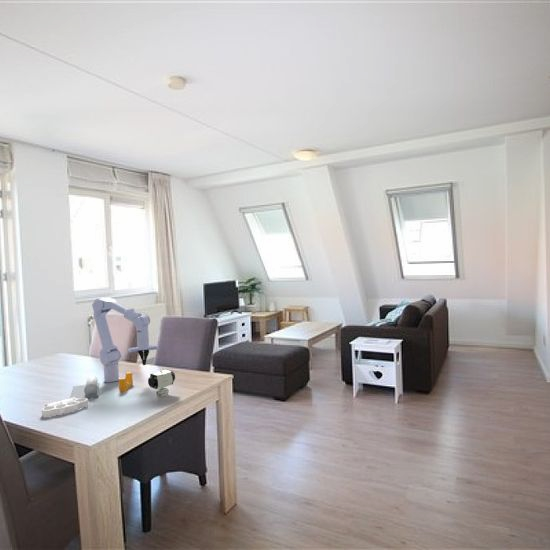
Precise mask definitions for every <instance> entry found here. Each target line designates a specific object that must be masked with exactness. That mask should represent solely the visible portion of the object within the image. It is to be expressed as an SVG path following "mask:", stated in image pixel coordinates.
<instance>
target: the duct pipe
mask: <svg viewBox="0 0 550 550" xmlns="http://www.w3.org/2000/svg"><path fill="white" fill-rule="evenodd" d="M98 381H99V379H98V377H97V376H95V375H89V377H87V379H86V384H83V385H75V386H73V387H72V390H71V393H70V396H69V399H71V398H73V397H75V398H87V399H88V400H92V399H91V398H94V399H98V398H99V394H98V393H100V392H99V391H100V382H98ZM97 397H98V398H97Z"/></svg>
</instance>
